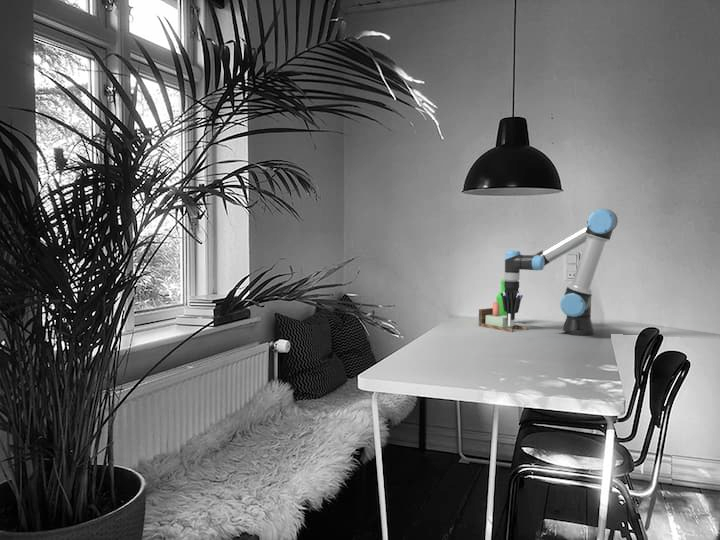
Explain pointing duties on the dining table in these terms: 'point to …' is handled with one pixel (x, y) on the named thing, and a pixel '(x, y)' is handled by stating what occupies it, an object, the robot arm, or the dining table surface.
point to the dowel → (495, 309)
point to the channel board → (482, 323)
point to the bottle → (499, 299)
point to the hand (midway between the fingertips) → (510, 326)
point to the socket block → (497, 321)
